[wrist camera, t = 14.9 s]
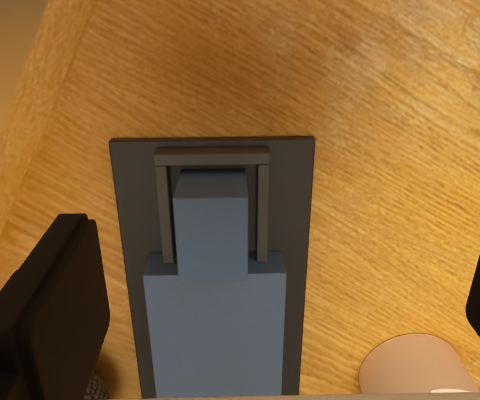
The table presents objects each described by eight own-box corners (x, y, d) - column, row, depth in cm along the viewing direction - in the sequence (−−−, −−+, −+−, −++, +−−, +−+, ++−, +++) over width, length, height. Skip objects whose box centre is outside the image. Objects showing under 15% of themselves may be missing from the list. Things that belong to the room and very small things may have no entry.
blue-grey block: (180, 168, 31) (172, 198, 27) (245, 168, 31) (248, 197, 27) (185, 244, 34) (178, 283, 29) (245, 243, 34) (248, 281, 29)
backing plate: (110, 138, 31) (96, 156, 28) (313, 135, 31) (324, 153, 28) (145, 409, 42) (138, 446, 38) (296, 406, 42) (302, 442, 39)
